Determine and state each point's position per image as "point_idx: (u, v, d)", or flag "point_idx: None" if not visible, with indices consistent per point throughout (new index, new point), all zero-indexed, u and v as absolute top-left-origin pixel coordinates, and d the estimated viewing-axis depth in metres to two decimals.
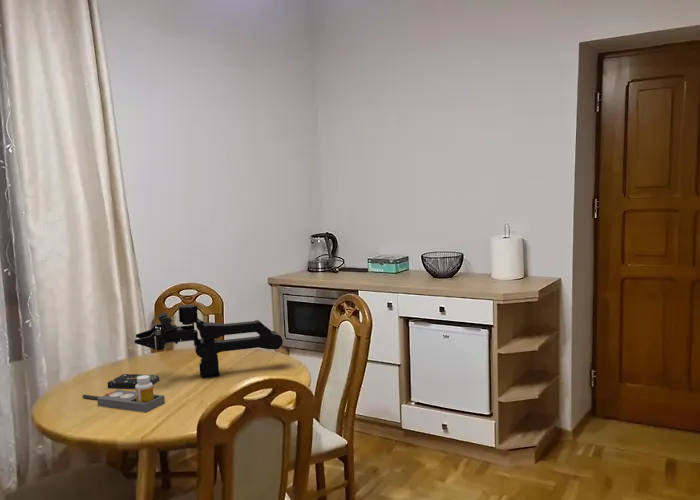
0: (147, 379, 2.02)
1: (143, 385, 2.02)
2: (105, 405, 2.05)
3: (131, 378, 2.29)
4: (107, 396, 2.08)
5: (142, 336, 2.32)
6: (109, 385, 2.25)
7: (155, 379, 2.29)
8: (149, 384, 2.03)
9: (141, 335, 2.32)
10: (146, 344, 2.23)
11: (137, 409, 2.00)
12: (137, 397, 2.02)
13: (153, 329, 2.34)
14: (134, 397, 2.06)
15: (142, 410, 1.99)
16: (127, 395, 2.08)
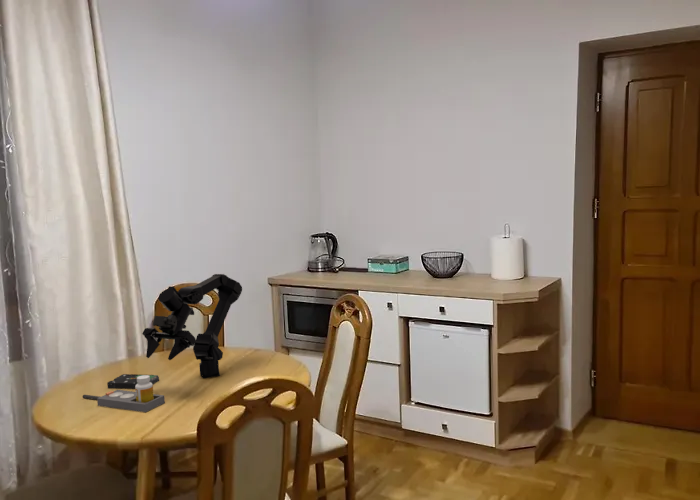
0: (147, 379, 2.02)
1: (143, 385, 2.02)
2: (105, 405, 2.05)
3: (131, 378, 2.29)
4: (107, 396, 2.08)
5: (151, 352, 2.13)
6: (109, 385, 2.25)
7: (155, 379, 2.29)
8: (149, 384, 2.03)
9: (149, 352, 2.13)
10: (179, 351, 2.11)
11: (137, 409, 2.00)
12: (137, 397, 2.02)
13: (151, 338, 2.14)
14: (134, 397, 2.06)
15: (142, 410, 1.99)
16: (127, 395, 2.08)
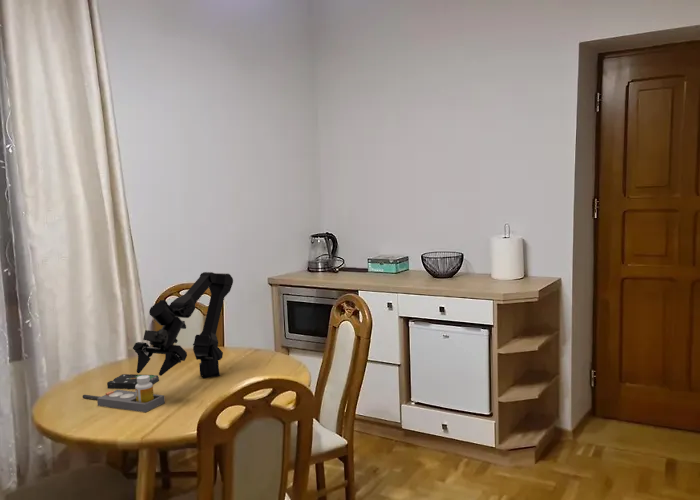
0: (147, 379, 2.02)
1: (143, 385, 2.02)
2: (105, 405, 2.05)
3: (131, 378, 2.29)
4: (107, 396, 2.08)
5: (141, 367, 2.09)
6: (109, 385, 2.25)
7: (155, 379, 2.29)
8: (149, 384, 2.03)
9: (140, 367, 2.09)
10: (170, 366, 2.06)
11: (137, 409, 2.00)
12: (137, 397, 2.02)
13: (142, 353, 2.10)
14: (134, 397, 2.06)
15: (142, 410, 1.99)
16: (127, 395, 2.08)
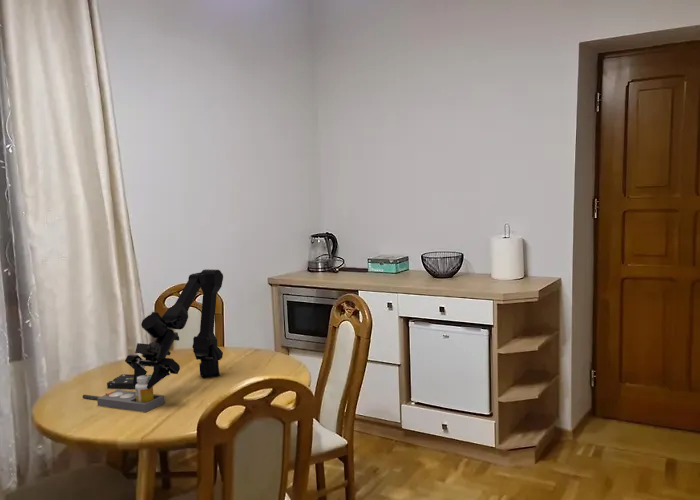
0: (147, 379, 2.02)
1: (143, 385, 2.02)
2: (105, 405, 2.05)
3: (130, 378, 2.29)
4: (107, 396, 2.08)
5: None
6: (109, 385, 2.25)
7: None
8: None
9: (136, 381, 2.05)
10: (158, 379, 2.04)
11: (137, 409, 2.00)
12: (137, 397, 2.02)
13: (138, 366, 2.06)
14: (134, 397, 2.06)
15: (142, 410, 1.99)
16: (127, 395, 2.08)
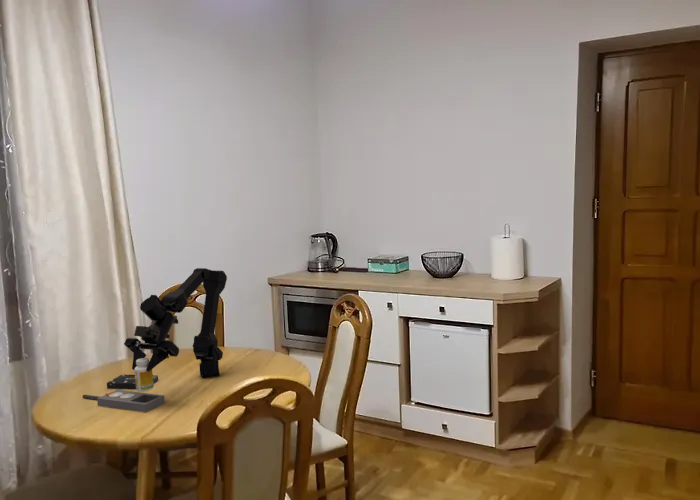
0: (146, 362, 2.02)
1: (142, 368, 2.01)
2: (105, 405, 2.05)
3: (130, 378, 2.29)
4: (107, 396, 2.08)
5: None
6: (108, 385, 2.24)
7: (154, 379, 2.29)
8: None
9: (135, 364, 2.04)
10: (157, 362, 2.03)
11: (137, 409, 2.00)
12: (136, 380, 2.02)
13: (137, 349, 2.06)
14: (134, 397, 2.06)
15: (142, 410, 1.99)
16: (127, 395, 2.08)
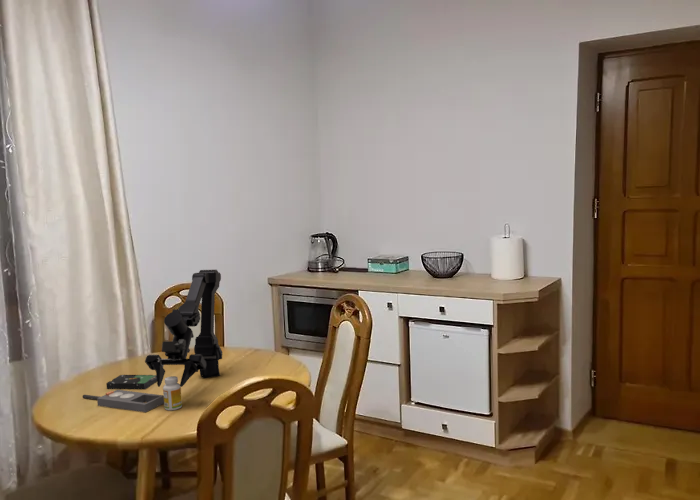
0: (176, 380, 2.00)
1: (173, 386, 1.99)
2: (105, 405, 2.05)
3: (130, 378, 2.28)
4: (107, 396, 2.08)
5: (161, 380, 2.02)
6: (108, 386, 2.24)
7: (154, 379, 2.29)
8: (178, 385, 2.01)
9: (160, 380, 2.01)
10: (188, 376, 2.02)
11: (137, 409, 2.00)
12: (167, 399, 1.99)
13: (160, 365, 2.03)
14: (134, 397, 2.06)
15: (142, 410, 1.99)
16: (127, 395, 2.08)
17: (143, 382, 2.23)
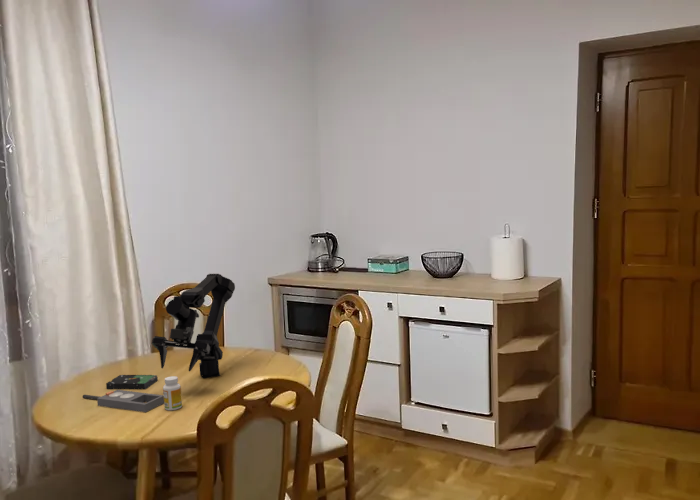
0: (176, 380, 2.00)
1: (173, 386, 1.99)
2: (105, 405, 2.05)
3: (129, 378, 2.28)
4: (107, 396, 2.08)
5: (164, 361, 2.13)
6: (108, 386, 2.24)
7: (154, 379, 2.29)
8: (178, 385, 2.01)
9: (163, 362, 2.13)
10: (196, 360, 2.14)
11: (137, 409, 2.00)
12: (167, 399, 1.99)
13: (163, 348, 2.13)
14: (134, 397, 2.06)
15: (142, 410, 1.99)
16: (127, 395, 2.08)
17: (143, 382, 2.23)
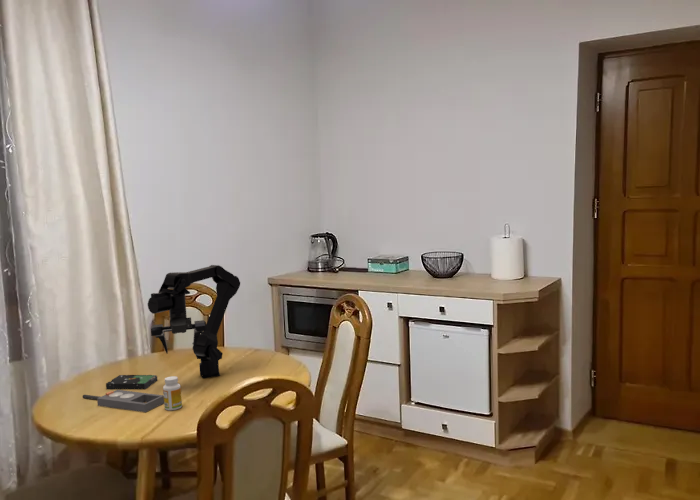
0: (176, 380, 2.00)
1: (173, 386, 1.99)
2: (105, 405, 2.05)
3: (129, 379, 2.28)
4: (107, 396, 2.08)
5: None
6: (108, 386, 2.24)
7: (154, 379, 2.29)
8: (178, 385, 2.01)
9: None
10: None
11: (137, 409, 2.00)
12: (167, 399, 1.99)
13: (164, 336, 2.21)
14: (134, 397, 2.06)
15: (142, 410, 1.99)
16: (127, 395, 2.08)
17: (143, 382, 2.23)
